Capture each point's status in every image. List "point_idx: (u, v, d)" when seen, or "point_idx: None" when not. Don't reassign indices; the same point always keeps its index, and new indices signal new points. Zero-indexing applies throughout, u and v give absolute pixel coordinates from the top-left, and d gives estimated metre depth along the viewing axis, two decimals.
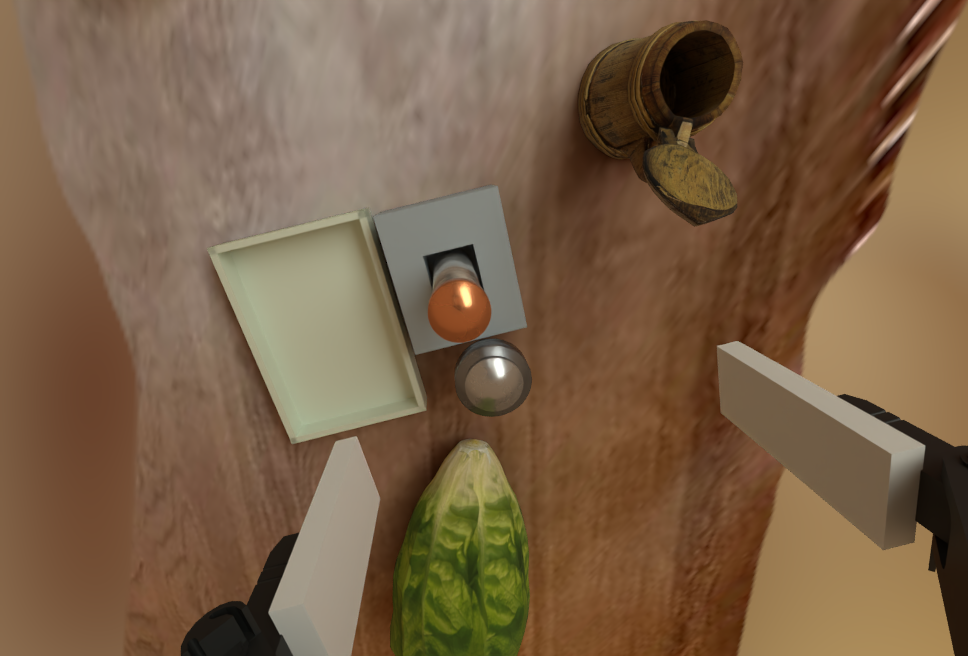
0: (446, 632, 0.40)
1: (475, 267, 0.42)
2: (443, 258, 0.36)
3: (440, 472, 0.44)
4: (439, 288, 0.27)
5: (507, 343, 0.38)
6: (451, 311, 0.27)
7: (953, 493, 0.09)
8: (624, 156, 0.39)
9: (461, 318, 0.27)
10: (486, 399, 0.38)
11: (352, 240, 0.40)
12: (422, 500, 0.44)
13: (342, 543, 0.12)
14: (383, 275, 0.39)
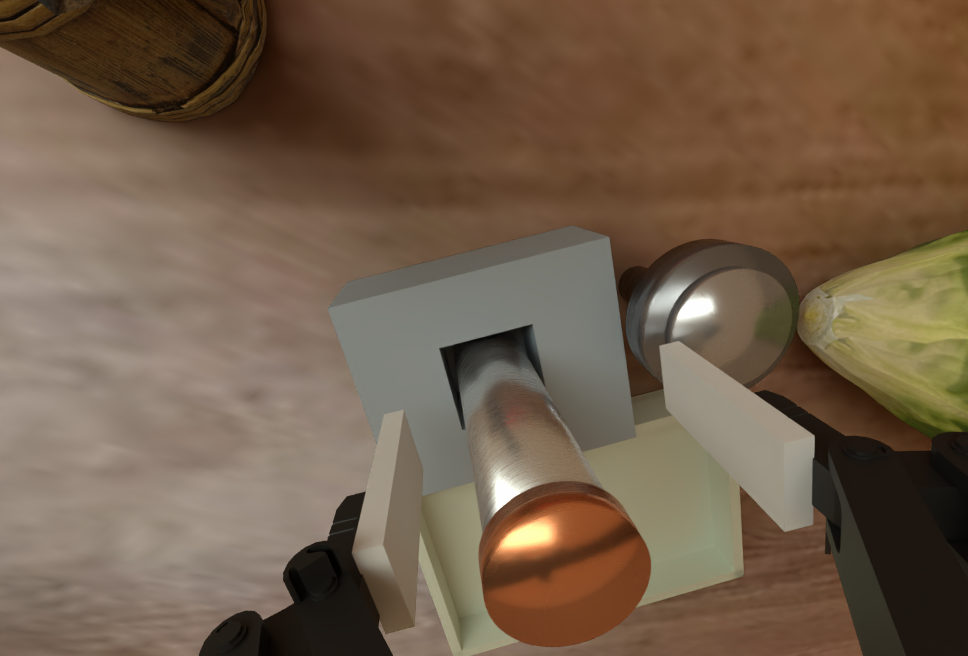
0: None
1: None
2: None
3: (856, 383, 0.24)
4: None
5: (640, 289, 0.18)
6: (563, 600, 0.10)
7: (840, 482, 0.10)
8: (253, 9, 0.18)
9: (584, 577, 0.10)
10: (759, 346, 0.18)
11: None
12: (904, 419, 0.24)
13: (402, 501, 0.13)
14: None
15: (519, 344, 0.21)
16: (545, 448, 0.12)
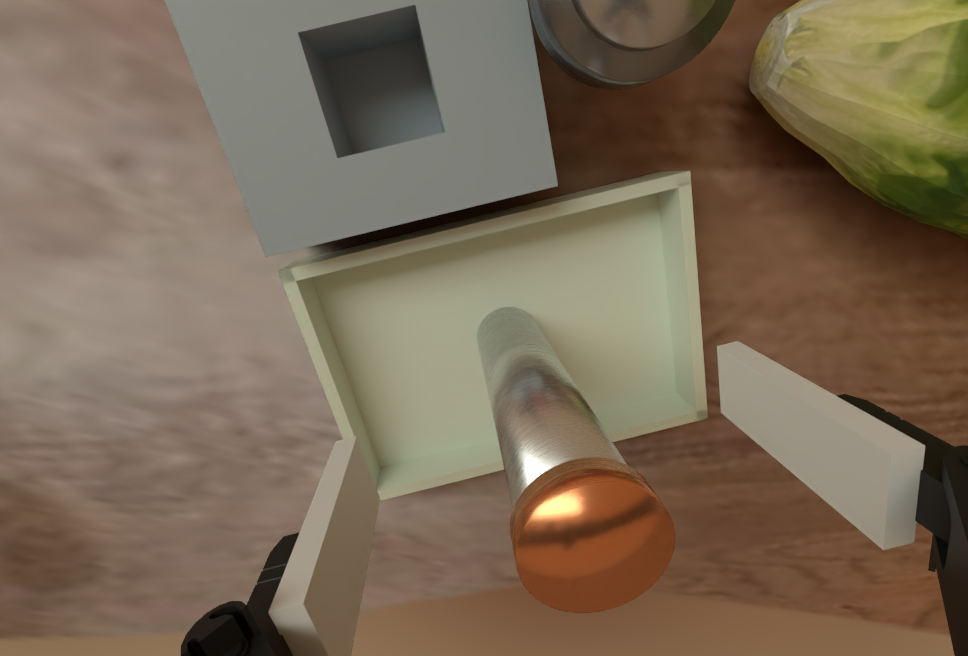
0: None
1: (388, 49, 0.20)
2: None
3: (818, 138, 0.19)
4: None
5: None
6: (590, 568, 0.11)
7: (953, 493, 0.09)
8: None
9: (611, 547, 0.11)
10: None
11: (353, 292, 0.23)
12: (877, 184, 0.19)
13: (342, 543, 0.12)
14: (400, 243, 0.21)
15: (542, 333, 0.22)
16: (572, 428, 0.13)
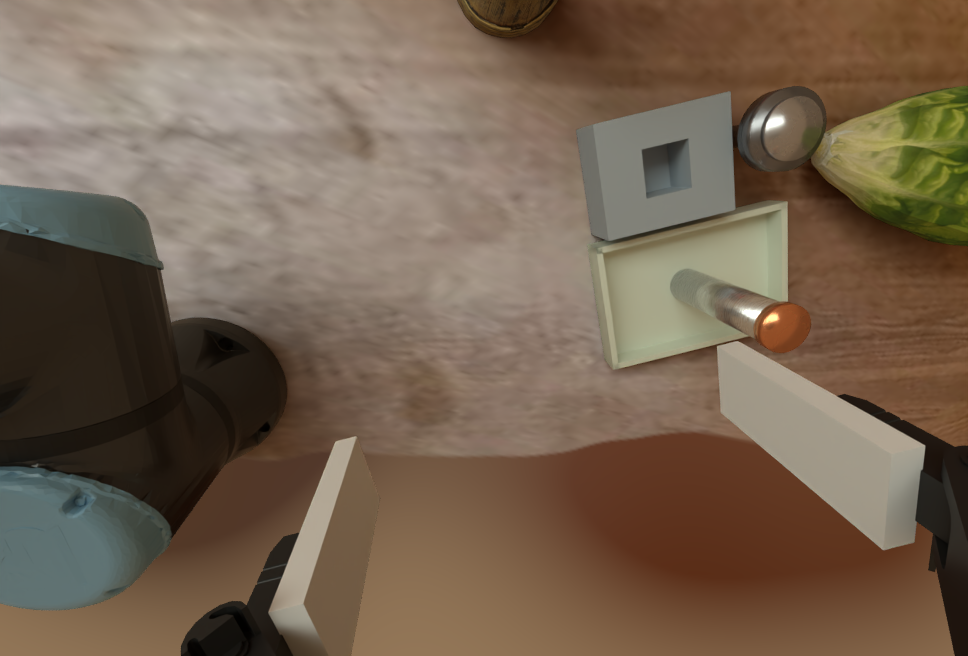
0: None
1: (652, 146, 0.43)
2: (693, 303, 0.44)
3: (844, 187, 0.43)
4: (763, 343, 0.35)
5: (747, 114, 0.38)
6: (783, 335, 0.34)
7: (953, 493, 0.09)
8: None
9: (791, 327, 0.34)
10: (806, 138, 0.37)
11: (614, 260, 0.47)
12: (871, 208, 0.43)
13: (342, 543, 0.12)
14: (652, 235, 0.44)
15: None
16: (767, 298, 0.36)
